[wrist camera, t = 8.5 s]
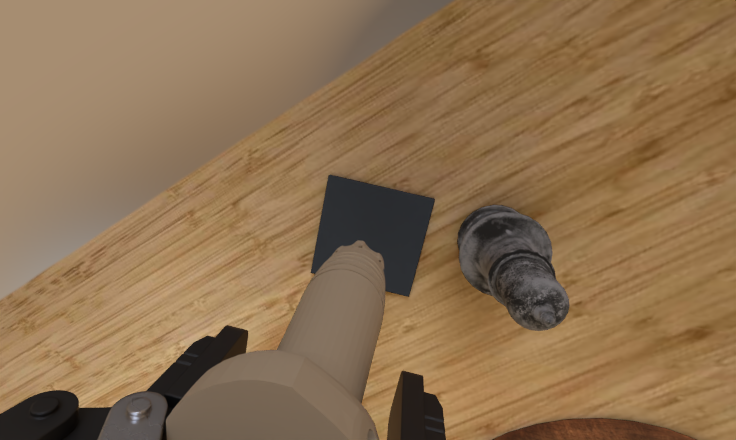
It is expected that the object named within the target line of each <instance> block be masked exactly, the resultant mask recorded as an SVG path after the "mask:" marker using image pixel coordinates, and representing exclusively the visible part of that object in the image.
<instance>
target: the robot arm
mask: <svg viewBox="0 0 736 440" xmlns="http://www.w3.org/2000/svg"><path fill="white" fill-rule="evenodd" d="M247 340H248V331H247V330H244V329H240V328H236V327H232V326H228V325H227V326H225V327H224V328H223V329H222V331H221V332H220V333H219V334H218V335H217V336H216V337H211V336H206V337H204V338H202V339H200V340H198V341H196V342H194V343H193V344H192V345H191V346H190V347H189V348H188V349H187V350H186V351H185V352H184V354H182V355H181V356H180V357H179V358H178V359H177V360H176V362H174V363H173V364H172V365H171V366H170V367H169V368H168V369H167V370H166V371H165V372H164V373H163V374H162V375H161V376H160V377H159V378H158V379H157V380H156V382H155V383H154V384H153V385H152V386H151V387H150V388H149V389H148V390H147V391H144V392H137V393H133V394H130V395H128V396H126V397H124V398H122V399H120V400H119V401H118V402H116V403H115V404H114V405H113V407H107V408H79V402H78V398H77V396H76V395H75V394H73V393H71V392H68V391H61V390H56V391H48V392H44V393H40V394H37V395H34V396H32V397H30V398H28V399H26V400H24V401H22V402H21V403H19V404H17V405H15V406H14V407H12V408H10V409H9V410H7V411H5V412H3V413H2V414H0V440H167V432H166V419H167V417H168V416H169V415H170V413H171V412H172V410H173V409H174V408H175V406H176V405H177V404H178V403H179V402H180V400H181V399H182V398H183V397H184V396H185V394H186V393H187V392H188V391H189V390H190V388H191V387H192V386H193V385H194V384H195V383H196V382H197V381H198V380H199V379H200V378H201V377H202V376H203V375H204V374H205V373H206V372H207V371H208V370H209V369H211V368H212V367H214V366H216V365H217V364H219V363H221V362H222V361H224V360H227V359H229V358H232V357H235V356H237V355H240V354H244V353H246V347H247ZM387 440H446V436H445V427H444V417H443V408H442V406H441V404H440V403H439V401H438V399H437V397H436V395H433V394H429V393H426V392H424V385H423V376H422V375H418V374H414V373H410V372H406V371H402V372H401V375H400V378H399V382H398V385H397V389H396V392H395V396H394V400H393V403H392V407H391V411H390V417H389V423H388V435H387Z"/></svg>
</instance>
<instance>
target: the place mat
mask: <svg viewBox="0 0 736 440" xmlns="http://www.w3.org/2000/svg"><path fill="white" fill-rule="evenodd" d="M434 201H435V199H433V198H429V197H424V196H420V195H416V194H411V193H407V192H403V191H398V190H394V189H390V188H385V187H381V186H377V185H372V184H368V183H364V182H359V181H355V180H351V179H346V178H342V177H338V176H333V175H329V177H328V182H327V188H326V193H325V198H324V204H323V209H322V215H321V220H320V226H319V231H318V237H317V242H316V248H315V253H314V259H313V264H312V269H311V273H314V274H315V273H316V272H317V271H318V270H319V268H320V267H321V266H322V265H323V264H324V263H325V261H327V260H328V259H329V258H330V257H331V256H332V254H333V253H334V252H335V251H336V250H337V249H338V248H339V247H340V246H349V245H352V244H354V243H355V242H356V241H358V240H359V241H364V242H365V244H366V245H367V246H368V247H369V248H370V249H371V250H373V251H374V252H376V253H380V254H381V256H382V257H383V261H384V269H383V271H384V276H385V291H387V292H391V293H395V294H400V295H404V296H408V297H409V295H410V291H411V287H412V283H413V280H414V276H415V272H416V268H417V265H418V261H419V257H420V254H421V250H422V246H423V242H424V239H425V235H426V231H427V227H428V224H429V220H430V216H431V212H432V209H433V205H434Z"/></svg>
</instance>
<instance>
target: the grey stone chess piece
mask: <svg viewBox="0 0 736 440" xmlns="http://www.w3.org/2000/svg"><path fill="white" fill-rule="evenodd" d="M457 242H458V247H459V261H460V267H461V270H462V272H463V274H464V276H465V278H466V279H467V280H468V282H469V283H470V284H471V285H472V286H473V287H474V288H476V289H478V290H479V291H481V292H482V293H485V294H488V295H491V296H494V298H495V299H496V300H497V301H498V302H500V303H501V304H503V305H505V306H506V308H507V310H508V312H509V314H510V316H511V317H512V318H513V319H514V320H515V321H516V322H517V323H518V324H519V325H521V326H522V327H524V328H526V329H529V330H535V331H542V330H548V329H551V328H554V327H555V326H557V325H558V324H560V323H561V322H562V321H563V320H564V319H565V317H566V315H567V313H568V310H569V299H568V296H567V293H566V291H565V289H564V288H563V287H562V286H561V285H560V283H559V282H558V281H557V280H556V277H555V271H554V268H553V266H552V264H551V259H552V246H551V241H550V239H549V237H548V235H547V232H546V231H545V230H544V229H543V228H542V226H541V225H540V224H539V223H538V222H536V221H535V220H533V219H531V218H530V217H528V216H525V215H522V214H520V213H518V212H517V211H515V210H514V209H512V208H509V207H506V206H503V205H490V206H485V207H482V208H480V209H478V210H476V211H474V212H473V213H471V214H470V215H469V216H468V217H467V218H466V219H465V221H464V222H463V223H462V225H461V227H460V230H459V232H458V241H457Z"/></svg>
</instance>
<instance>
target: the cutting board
mask: <svg viewBox="0 0 736 440" xmlns="http://www.w3.org/2000/svg"><path fill="white" fill-rule="evenodd" d="M493 440H696V439H693V438H691V437H688V436H685V435H683V434H680V433H677V432H674V431H672V430H669V429H666V428H662V427H657V426H653V425H648V424H644V423H639V422H635V421H625V420H614V419H603V418H595V419H567V420H561V421H554V422H548V423H542V424H536V425H533V426H529V427H526V428H522V429H519V430H516V431H512V432H509V433H506V434H504V435H502V436H500V437H497V438H495V439H493Z"/></svg>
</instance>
